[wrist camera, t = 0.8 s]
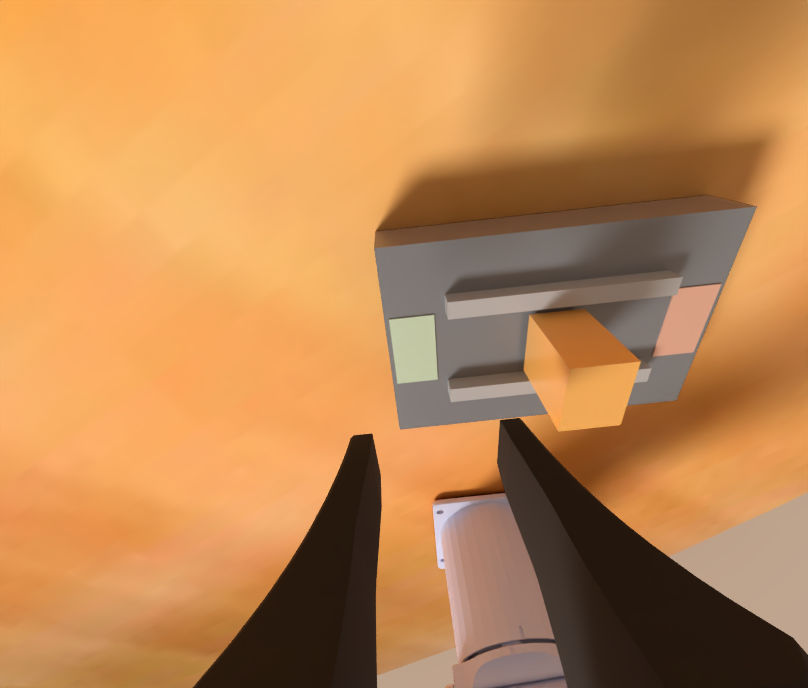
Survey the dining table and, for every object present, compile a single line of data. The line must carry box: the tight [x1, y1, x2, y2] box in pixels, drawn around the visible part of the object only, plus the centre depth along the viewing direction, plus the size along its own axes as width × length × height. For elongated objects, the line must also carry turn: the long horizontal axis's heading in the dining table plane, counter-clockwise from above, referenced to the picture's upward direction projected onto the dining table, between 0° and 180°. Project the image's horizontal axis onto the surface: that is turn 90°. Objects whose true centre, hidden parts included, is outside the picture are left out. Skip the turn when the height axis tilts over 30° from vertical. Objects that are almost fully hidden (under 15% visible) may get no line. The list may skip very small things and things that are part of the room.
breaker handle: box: [524, 309, 641, 432], centre depth 15 cm, size 3×2×4 cm
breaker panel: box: [374, 195, 757, 429], centre depth 17 cm, size 10×15×3 cm, turn 96°
